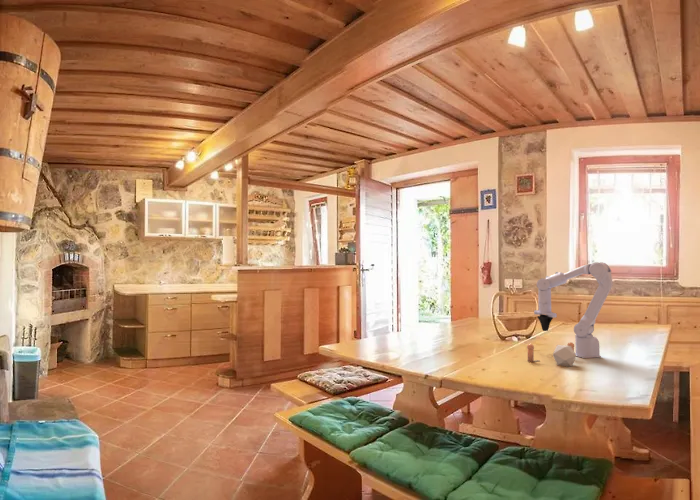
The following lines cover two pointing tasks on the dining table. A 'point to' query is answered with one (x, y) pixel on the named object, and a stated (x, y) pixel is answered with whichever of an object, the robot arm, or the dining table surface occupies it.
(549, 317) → the robot arm
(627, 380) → the dining table surface
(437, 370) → the dining table surface
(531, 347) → the pair of orange pieces
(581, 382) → the dining table surface
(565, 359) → the die
